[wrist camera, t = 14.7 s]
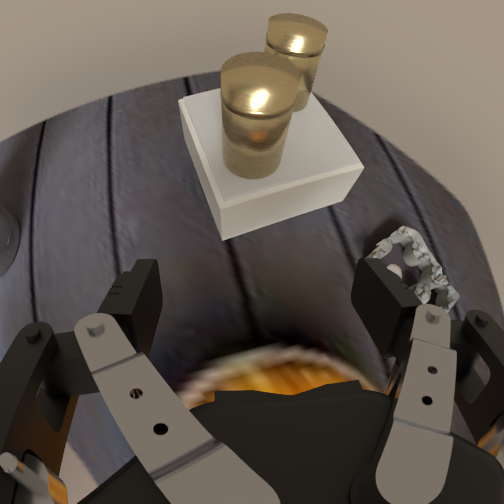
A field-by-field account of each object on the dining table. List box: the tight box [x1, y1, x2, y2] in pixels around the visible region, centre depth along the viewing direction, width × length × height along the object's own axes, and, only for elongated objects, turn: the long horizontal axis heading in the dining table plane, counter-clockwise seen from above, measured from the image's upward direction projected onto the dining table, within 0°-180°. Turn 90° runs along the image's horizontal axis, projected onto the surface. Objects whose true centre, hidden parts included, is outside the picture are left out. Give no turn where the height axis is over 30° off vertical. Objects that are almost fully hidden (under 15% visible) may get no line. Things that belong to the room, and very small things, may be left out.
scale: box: [178, 88, 364, 241], centre depth 30 cm, size 14×15×7 cm
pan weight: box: [265, 13, 328, 112], centre depth 23 cm, size 5×5×9 cm
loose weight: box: [220, 52, 301, 179], centre depth 20 cm, size 5×5×9 cm
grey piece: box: [366, 226, 460, 313], centre depth 28 cm, size 11×8×4 cm
